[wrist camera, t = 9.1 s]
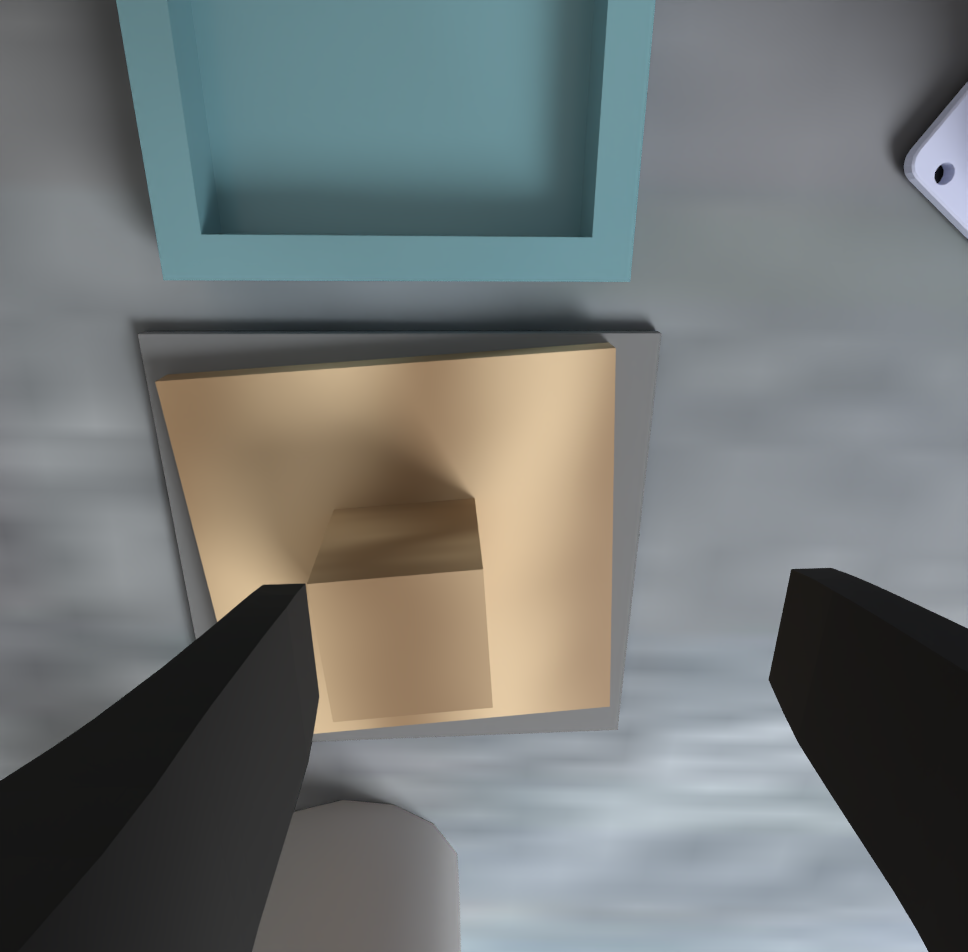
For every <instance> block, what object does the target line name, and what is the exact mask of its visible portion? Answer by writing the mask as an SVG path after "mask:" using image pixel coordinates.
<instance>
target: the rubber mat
mask: <svg viewBox="0 0 968 952" xmlns="http://www.w3.org/2000/svg"><path fill="white" fill-rule="evenodd" d="M138 338H139V344H140V349H141V354H142V359H143V365H144V370H145V375H146V380H147V386H148V391H149V396H150V402H151V407H152V412H153V417H154V423H155V428H156V433H157V438H158V444H159V449H160V454H161V459H162V465H163V470H164V475H165V480H166V486H167V491H168V496H169V501H170V507H171V512H172V517H173V522H174V528H175V533H176V538H177V543H178V549H179V554H180V559H181V564H182V570H183V575H184V580H185V585H186V591H187V596H188V601H189V606H190V612H191V617H192V622H193V627H194V633H195V638H196V639H198V638H199V637H200V636H201V635H202V634H204V633H205V632H206V631H207V630H209V629H210V628H211V627H212V626H213V625H214V624H216V623H217V619H216V615H215V611H214V607H213V604H212V600H211V596H210V592H209V588H208V584H207V580H206V576H205V573H204V569H203V565H202V561H201V557H200V553H199V549H198V546H197V542H196V538H195V534H194V530H193V526H192V522H191V518H190V515H189V511H188V507H187V503H186V499H185V495H184V491H183V487H182V484H181V480H180V476H179V472H178V468H177V464H176V460H175V456H174V453H173V449H172V445H171V441H170V437H169V433H168V429H167V426H166V422H165V418H164V414H163V410H162V406H161V402H160V398H159V395H158V391H157V387H156V383H155V381H157V380H159V379H161V378H162V377H164V376H166V375H168V374H182V373H196V372H209V371H223V370H237V369H251V368H264V367H278V366H292V365H305V364H319V363H333V362H347V361H360V360H374V359H388V358H402V357H415V356H429V355H443V354H456V353H470V352H484V351H498V350H511V349H525V348H539V347H553V346H566V345H580V344H594V343H607V342H609V343H610V344H611V345H613V346H614V347H615V348H616V364H615V424H614V485H613V545H612V605H611V666H610V707H599V708H589V709H578V710H567V711H556V712H545V713H534V714H523V715H513V716H502V717H491V718H480V719H469V720H458V721H448V722H437V723H426V724H415V725H404V726H393V727H382V728H372V729H361V730H350V731H339V732H328V733H317V734H313V739H312V742H316V741H342V740H368V739H393V738H419V737H445V736H470V735H496V734H522V733H548V732H573V731H599V730H618V721H619V712H620V703H621V693H622V684H623V675H624V666H625V657H626V648H627V639H628V630H629V621H630V612H631V603H632V594H633V585H634V576H635V567H636V558H637V549H638V540H639V531H640V522H641V513H642V504H643V495H644V485H645V476H646V467H647V458H648V449H649V440H650V431H651V422H652V413H653V404H654V395H655V386H656V377H657V368H658V359H659V350H660V341H661V333H660V332H658V331H206V332H142V333H139V334H138Z"/></svg>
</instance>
